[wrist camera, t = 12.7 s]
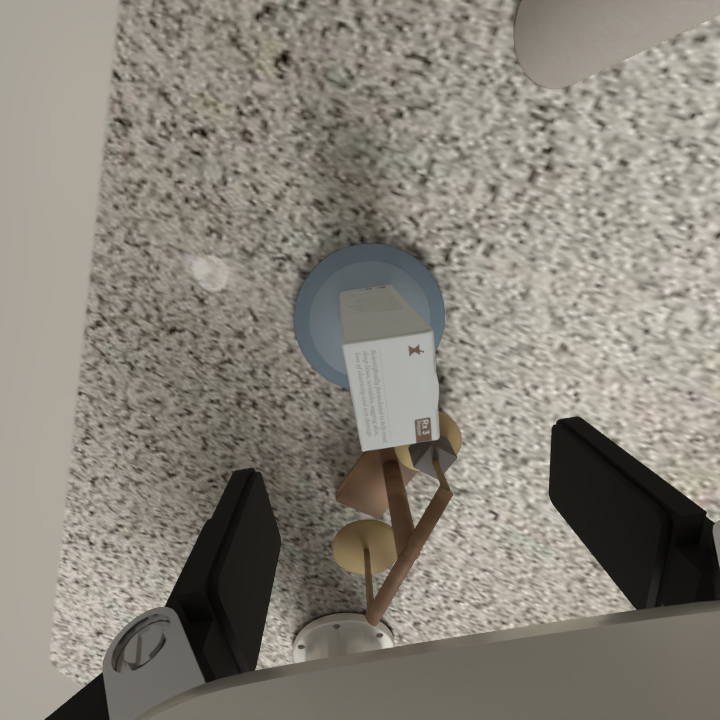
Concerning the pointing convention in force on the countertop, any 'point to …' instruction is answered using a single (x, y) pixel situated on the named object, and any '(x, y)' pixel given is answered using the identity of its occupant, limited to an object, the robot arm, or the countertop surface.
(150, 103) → the countertop surface
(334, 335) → the dish
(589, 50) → the coffee cup
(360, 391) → the skincare box
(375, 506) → the balance
